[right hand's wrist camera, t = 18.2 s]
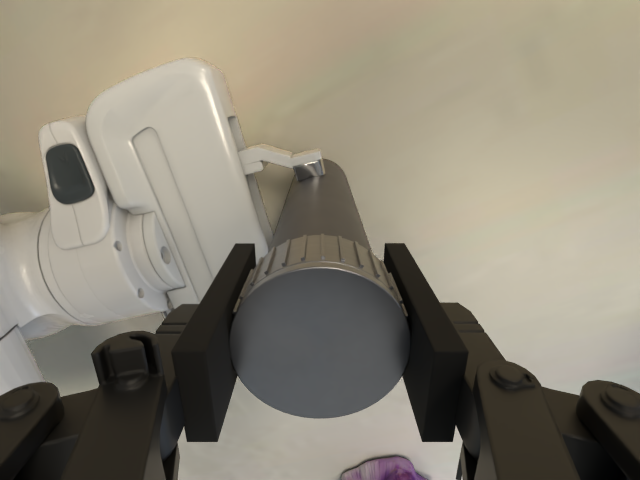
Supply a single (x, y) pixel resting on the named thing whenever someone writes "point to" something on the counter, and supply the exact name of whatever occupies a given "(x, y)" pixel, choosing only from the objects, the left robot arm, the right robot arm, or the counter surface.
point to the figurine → (384, 470)
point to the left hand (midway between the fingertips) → (333, 204)
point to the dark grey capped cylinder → (320, 209)
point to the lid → (320, 328)
